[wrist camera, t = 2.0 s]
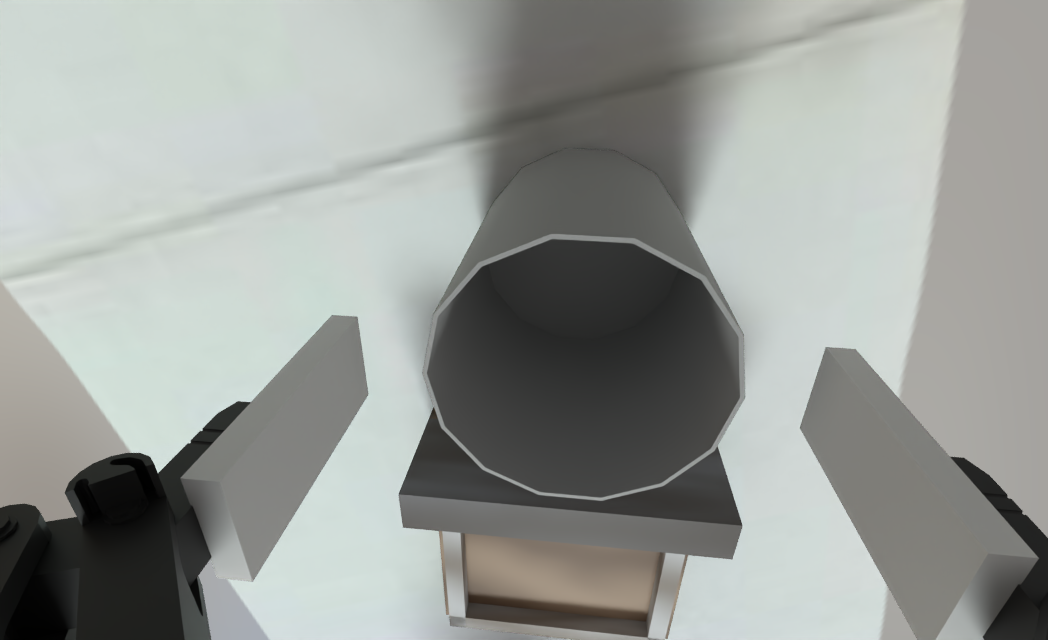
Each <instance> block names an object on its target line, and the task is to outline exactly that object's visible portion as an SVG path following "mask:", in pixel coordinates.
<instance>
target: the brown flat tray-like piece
mask: <svg viewBox="0 0 1048 640" xmlns="http://www.w3.org/2000/svg"><path fill="white" fill-rule="evenodd" d="M399 501H400V508H401V516H402V523H403V527H404V528H415V529H425V530H435V531H439V536H440V548H441V559H442V571H443V582H444V594H445V605H446V615H449V618H450V626H456V627H465V628H474V629H483V630H492V631H501V632H510V633H519V634H528V635H537V636H546V637H555V638H564V639H573V640H665V639H668V635H669V630H670V626H671V622H672V618H673V614H674V610H675V606H676V602H677V598H678V594H679V590H680V586H681V581H682V577H683V573H684V569H685V565H686V561H687V557H688V555H693V556H704V557H714V558H724V559H733V555H734V552H735V549H736V546H737V542H738V539H739V536H740V533H741V529H742V523H741V519H740V516H739V513H738V510H737V507H736V503H735V500H734V497H733V494H732V491H731V488H730V484H729V481H728V478H727V475H726V472H725V469H724V465H723V462H722V459H721V456H720V453H719V449H718V446H717V448H716V449H715V451H714V452H712V453H711V454H709V455H708V456H706V457H705V458H703V459H702V460H701V461H699V462H698V463H696V464H695V465H693V466H692V467H690V468H689V469H687V470H686V471H685V472H683V473H682V474H680V475H679V476H677V477H676V478H674V479H673V480H671V481H670V482H668V483H667V484H666V485H664V486H662V487H657V488H653V489H649V490H645V491H641V492H636V493H632V494H628V495H624V496H620V497H615V498H611V499H607V500H603V501H598V500H587V499H577V498H566V497H555V496H545V495H538V494H535V493H533V492H531V491H529V490H527V489H524V488H522V487H520V486H518V485H515V484H513V483H511V482H509V481H507V480H504V479H502V478H500V477H498V476H495V475H493V474H491V473H489V472H486V471H484V470H482V469H481V468H480V467H479V466H478V465H477V464H476V463H475V462H474V461H473V459H472V458H471V457H470V456H469V455H468V454H467V453H466V452H465V451H464V450H463V449H462V448H461V447H460V446H459V445H458V444H457V443H456V442H455V441H454V440H453V439H452V438H451V437H450V436H449V435H448V434H447V433H446V432H445V431H444V430H443V429H442V428H441V426H440V423H439V420H438V417H437V414H436V411H435V409H434V408H433V410H432V413H431V415H430V418H429V420H428V423H427V425H426V428H425V430H424V433H423V435H422V438H421V440H420V443H419V445H418V448H417V450H416V452H415V455H414V457H413V460H412V462H411V465H410V467H409V470H408V472H407V475H406V477H405V480H404V482H403V485H402V487H401V490H400V492H399Z"/></svg>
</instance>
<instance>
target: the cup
mask: <svg viewBox="0 0 1048 640" xmlns="http://www.w3.org/2000/svg"><path fill="white" fill-rule="evenodd" d="M422 374H423V377H424V380H425V383H426V385H427V388H428V391H429V394H430V397H431V400H432V403H433V406H434V409H435V411H436V414H437V417H438V420H439V423H440V426H441V428H442V429H443V430H444V431H445V432H446V433H447V434H448V435H449V436H450V437H451V438H452V439H453V440H454V441H455V442H456V443H457V444H458V445H459V446H460V447H461V448H462V449H463V450H464V451H465V452H466V453H467V454H468V455H469V456H470V457H471V458H472V459H473V461H474V462H475V463H476V464H477V465H478V466H479V467H480V468H481V469H482V470H484V471H486V472H489V473H491V474H493V475H495V476H498V477H500V478H502V479H504V480H507V481H509V482H511V483H513V484H515V485H518V486H520V487H522V488H524V489H527V490H529V491H531V492H533V493H535V494H538V495H545V496H555V497H566V498H577V499H587V500H598V501H603V500H607V499H611V498H615V497H620V496H624V495H628V494H632V493H636V492H641V491H645V490H649V489H653V488H657V487H662V486H664V485H666V484H667V483H668V482H670V481H671V480H673V479H674V478H676V477H677V476H679V475H680V474H682V473H683V472H685V471H686V470H687V469H689V468H690V467H692V466H693V465H695V464H696V463H698V462H699V461H701V460H702V459H703V458H705V457H706V456H708V455H709V454H711V453H712V452H714V451H715V449H716V448H717V446H718V444H719V442H720V441H721V439H722V437H723V435H724V434H725V432H726V430H727V428H728V427H729V425H730V423H731V421H732V420H733V418H734V416H735V415H736V413H737V411H738V409H739V408H740V406H741V404H742V402H743V401H744V399H745V370H744V334H743V332H742V331H741V329H740V327H739V325H738V323H737V321H736V319H735V317H734V315H733V313H732V311H731V309H730V307H729V305H728V303H727V301H726V300H725V298H724V296H723V294H722V292H721V290H720V288H719V286H718V284H717V282H716V280H715V278H714V276H713V274H712V272H711V270H710V269H709V267H708V265H707V263H706V261H705V259H704V257H703V255H702V253H701V251H700V249H699V247H698V245H697V243H696V241H695V239H694V238H693V236H692V234H691V232H690V230H689V228H688V226H687V224H686V222H685V220H684V218H683V216H682V214H681V212H680V211H679V209H678V207H677V206H676V204H675V203H674V201H673V200H672V198H671V197H670V195H669V193H668V192H667V190H666V189H665V187H664V186H663V184H662V182H661V181H660V179H659V178H658V176H657V175H656V173H654V172H652V171H651V170H649V169H647V168H645V167H643V166H642V165H640V164H638V163H636V162H635V161H633V160H631V159H629V158H627V157H626V156H624V155H622V154H620V153H619V152H617V151H615V150H600V149H576V148H565V149H563V150H560V151H558V152H556V153H554V154H551V155H549V156H547V157H544V158H542V159H540V160H538V161H535V162H533V163H531V164H529V165H526V166H524V167H522V168H521V169H520V171H519V172H518V173H517V174H516V175H515V177H514V178H513V179H512V180H511V181H510V183H509V184H508V185H507V186H506V187H505V189H504V190H503V191H502V192H501V193H500V195H499V196H498V197H497V198H496V200H495V201H494V202H493V204H492V206H491V208H490V209H489V211H488V213H487V215H486V217H485V219H484V221H483V222H482V224H481V226H480V228H479V230H478V232H477V234H476V236H475V237H474V239H473V241H472V243H471V245H470V247H469V249H468V251H467V252H466V254H465V256H464V258H463V260H462V262H461V264H460V265H459V267H458V269H457V271H456V273H455V275H454V277H453V279H452V280H451V282H450V284H449V286H448V288H447V290H446V292H445V294H444V295H443V297H442V299H441V301H440V303H439V305H438V307H437V308H436V310H435V312H434V314H433V319H432V325H431V330H430V335H429V340H428V346H427V351H426V356H425V362H424V367H423V372H422Z"/></svg>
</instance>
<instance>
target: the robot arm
mask: <svg viewBox="0 0 1048 640" xmlns="http://www.w3.org/2000/svg"><path fill="white" fill-rule="evenodd" d="M367 396H368V388H367V381H366V374H365V367H364V360H363V353H362V346H361V339H360V332H359V324H358V317H353V316H338V315H332V316H331V317H330V318H329V319H328V320H327V321H326V322H325V323H324V324H323V325H322V327H321V328H320V329H319V330H318V331H317V332H316V333H315V334H314V335H313V336H312V337H311V338H310V339H309V340H308V342H307V343H306V344H305V345H304V346H303V347H302V348H301V349H300V350H299V351H298V352H297V353H296V354H295V356H294V357H293V358H292V359H291V360H290V361H289V362H288V363H287V364H286V365H285V366H284V367H283V368H282V369H281V371H280V372H279V373H278V374H277V375H276V376H275V377H274V378H273V379H272V380H271V381H270V382H269V383H268V385H267V386H266V387H265V388H264V389H263V390H262V391H261V392H260V393H259V394H258V395H257V396H256V397H255V398H254V400H253V401H252V402H239V401H238V402H236V403H235V404H233V405H231V406H230V407H228V408H226V409H224V410H223V411H221V412H219V413H218V414H217V415H216V416H215V417H214V418H213V419H212V420H211V421H210V422H209V423H208V424H207V425H206V426H205V427H204V428H203V431H200V432H199V433H198V434H197V435H196V436H195V437H194V438H193V439H192V440H191V443H190V444H189V443H188V444H187V445H186V446H185V447H184V448H183V449H182V450H181V451H180V452H179V453H178V454H177V455H176V456H175V457H174V458H173V459H172V460H171V461H170V462H169V463H168V464H167V465H166V466H165V467H164V468H163V469H162V470H161V471H160V472H159V473H157V470H156V468H155V465H154V463H153V461H152V460H151V458H150V457H149V456H147V455H144V454H141V453H125V454H120V455H115V456H111V457H108V458H106V459H103V460H101V461H98V462H96V463H94V464H92V465H90V466H89V467H87V468H86V469H84V470H82V471H81V472H80V473H78V474H77V475H76V476H75V477H74V478H73V479H72V480H71V481H70V482H69V484H68V486H67V488H66V491H65V494H66V496H67V498H68V500H69V502H70V504H71V506H72V508H73V510H74V512H75V513H76V515H77V517H74V518H68V519H61V520H55V521H48V522H45V521H44V519H43V517H42V515H41V513H40V512H39V510H38V509H37V508H36V507H35V506H32V505H28V504H17V505H9V506H5V507H2V508H0V640H211V636H210V630H209V624H208V618H207V612H206V606H205V600H204V595H203V588H202V584H201V582H200V579H199V577H198V575H199V574H200V572H201V571H202V570H203V568H204V567H205V565H206V564H207V563H208V561H209V560H210V559H211V562H212V565H213V567H214V570H215V573H216V575H217V577H218V578H223V579H231V580H240V581H250V582H253V580H254V579H255V577H256V576H257V574H258V572H259V571H260V569H261V568H262V566H263V564H264V563H265V561H266V559H267V558H268V556H269V555H270V553H271V551H272V550H273V548H274V546H275V545H276V543H277V542H278V540H279V538H280V537H281V535H282V534H283V532H284V530H285V529H286V527H287V525H288V524H289V522H290V521H291V519H292V517H293V516H294V514H295V512H296V511H297V509H298V508H299V506H300V504H301V503H302V501H303V500H304V498H305V496H306V495H307V493H308V491H309V490H310V488H311V487H312V485H313V483H314V482H315V480H316V478H317V477H318V475H319V474H320V472H321V470H322V469H323V467H324V466H325V464H326V462H327V461H328V459H329V457H330V456H331V454H332V453H333V451H334V449H335V448H336V446H337V445H338V443H339V441H340V440H341V438H342V436H343V435H344V433H345V432H346V430H347V428H348V427H349V425H350V423H351V422H352V420H353V419H354V417H355V415H356V414H357V412H358V411H359V409H360V407H361V406H362V404H363V402H364V401H365V399H366V398H367ZM800 429H801V431H802V433H803V434H804V436H805V438H806V440H807V442H808V443H809V445H810V447H811V449H812V451H813V452H814V454H815V456H816V458H817V460H818V461H819V463H820V465H821V467H822V469H823V470H824V472H825V474H826V476H827V478H828V479H829V481H830V483H831V485H832V487H833V488H834V490H835V492H836V494H837V496H838V498H839V499H840V501H841V503H842V505H843V507H844V508H845V510H846V512H847V514H848V516H849V517H850V519H851V521H852V523H853V525H854V526H855V528H856V530H857V532H858V534H859V535H860V537H861V539H862V541H863V543H864V544H865V546H866V548H867V550H868V552H869V553H870V555H871V557H872V559H873V561H874V562H875V564H876V566H877V568H878V570H879V571H880V573H881V575H882V577H883V579H884V580H885V582H886V584H887V586H888V588H889V589H890V591H891V593H892V595H893V597H894V598H895V600H896V602H897V604H898V606H899V607H900V609H901V611H902V613H903V615H904V616H905V618H906V620H907V622H908V624H909V625H910V627H911V629H912V631H913V633H914V634H915V636H916V638H917V640H1048V538H1047V537H1046V536H1045V535H1044V534H1043V532H1041V530H1040V529H1038V527H1037V526H1036V525H1035V524H1034V523H1033V522H1032V521H1031V520H1030V519H1029V517H1028V516H1026V515H1023V514H1022V510H1021V509H1020V508H1019V507H1018V506H1017V505H1016V504H1015V502H1014V501H1013V500H1012V499H1008V498H1007V494H1006V493H1005V492H1004V491H1003V490H1002V488H1001V487H1000V486H999V485H998V484H997V483H996V482H995V481H994V480H993V479H992V478H991V477H990V476H989V475H988V474H986V473H985V472H984V471H982V470H981V469H979V468H978V467H976V466H975V465H973V464H972V463H971V462H969V461H967V460H966V459H965V458H959V457H950V456H949V455H948V454H947V453H946V452H945V451H944V450H943V448H942V447H941V446H940V445H939V444H938V443H937V442H936V440H935V439H934V438H933V437H932V436H931V435H930V434H929V433H928V431H927V430H926V429H925V428H924V427H923V426H922V424H921V423H920V422H919V421H918V420H917V419H916V418H915V416H914V415H913V414H912V413H911V412H910V411H909V410H908V409H907V407H906V406H905V405H904V404H903V403H902V402H901V401H900V399H899V398H898V397H897V396H896V395H895V394H894V393H893V391H892V390H891V389H890V388H889V387H888V386H887V385H886V383H885V382H884V381H883V380H882V379H881V378H880V377H879V375H878V374H877V373H876V372H875V371H874V370H873V369H872V367H871V366H870V365H869V364H868V363H867V362H866V361H865V360H864V358H863V357H862V356H861V355H860V354H859V353H858V352H857V350H856V349H846V348H830V347H826V348H825V352H824V355H823V358H822V361H821V364H820V367H819V370H818V373H817V376H816V379H815V382H814V386H813V389H812V392H811V395H810V398H809V401H808V404H807V407H806V410H805V413H804V416H803V420H802V423H801V426H800Z"/></svg>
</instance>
